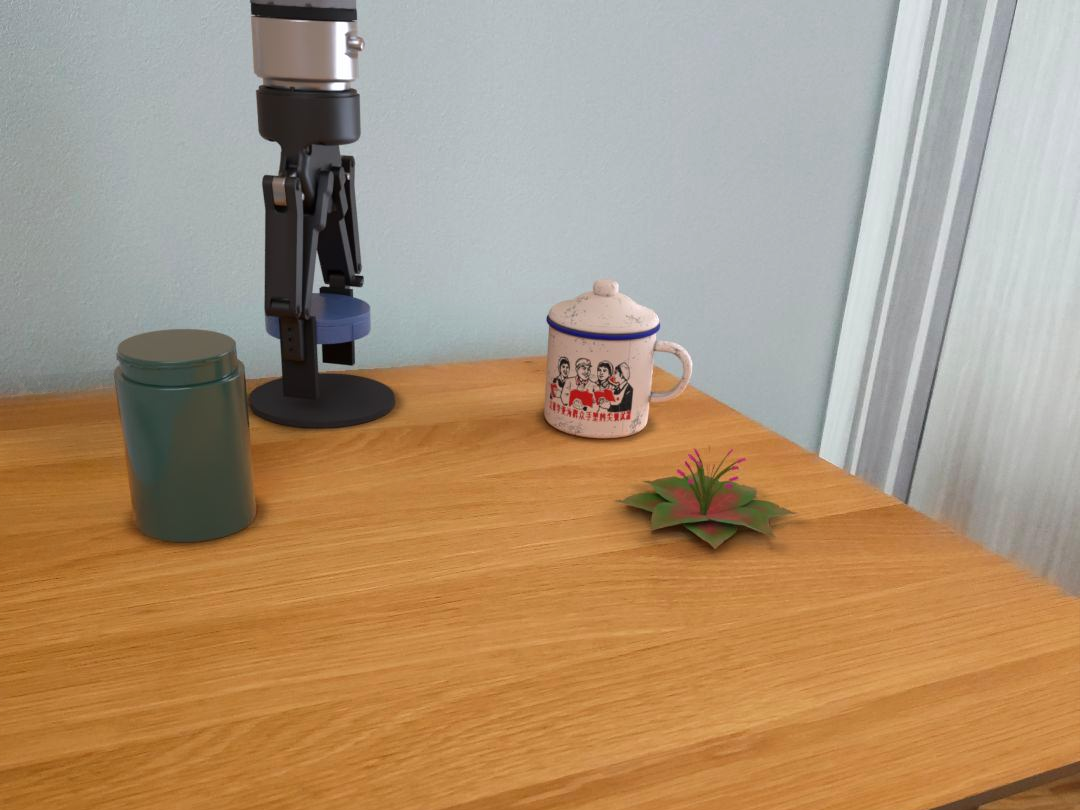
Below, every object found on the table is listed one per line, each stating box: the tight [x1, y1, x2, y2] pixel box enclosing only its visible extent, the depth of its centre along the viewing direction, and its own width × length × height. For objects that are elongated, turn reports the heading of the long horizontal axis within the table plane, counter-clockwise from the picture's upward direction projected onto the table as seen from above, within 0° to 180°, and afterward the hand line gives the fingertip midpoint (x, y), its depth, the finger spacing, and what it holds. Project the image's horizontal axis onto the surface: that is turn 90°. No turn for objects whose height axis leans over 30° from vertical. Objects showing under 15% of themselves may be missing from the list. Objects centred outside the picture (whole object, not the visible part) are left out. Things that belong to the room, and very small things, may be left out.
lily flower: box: [613, 446, 799, 550], centre depth 72 cm, size 12×12×5 cm
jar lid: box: [263, 292, 372, 345], centre depth 86 cm, size 8×8×2 cm
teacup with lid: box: [543, 278, 693, 439], centre depth 85 cm, size 12×9×12 cm
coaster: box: [248, 372, 396, 429], centre depth 89 cm, size 12×12×1 cm
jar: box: [113, 328, 257, 543], centre depth 66 cm, size 8×8×12 cm
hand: (320, 378), depth 88 cm, fingers closed on jar lid, 8 cm apart
